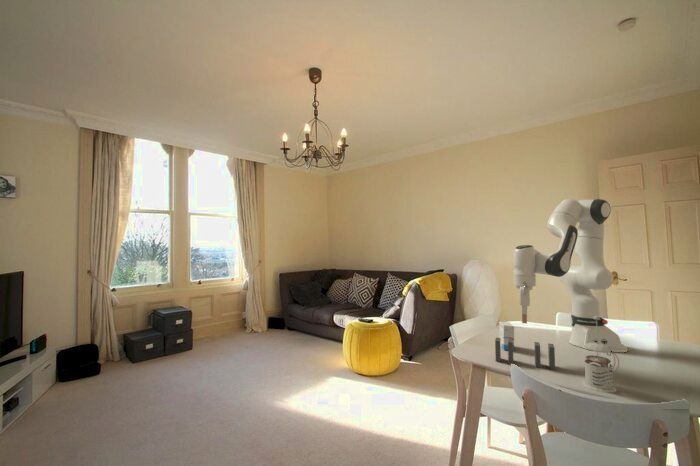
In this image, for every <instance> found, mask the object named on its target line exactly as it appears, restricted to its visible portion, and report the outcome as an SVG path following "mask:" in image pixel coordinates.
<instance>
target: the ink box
mask: <svg viewBox="0 0 700 466" xmlns="http://www.w3.org/2000/svg"><path fill="white" fill-rule="evenodd" d="M498 323H499V326H498V327H499V328H498V329H499V330H498V331H499V333H498V334H499V336H498V338H500V348H501V349H502V350H503V351H508V339H513V352H514V351H515V326H514V325H513V324H512V323H511V322H509V321H499V322H498Z"/></svg>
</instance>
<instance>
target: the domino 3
mask: <svg viewBox="0 0 700 466" xmlns="http://www.w3.org/2000/svg"><path fill="white" fill-rule="evenodd" d="M521 323H522V324H528V313H527V314H522V313H521Z"/></svg>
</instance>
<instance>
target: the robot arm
mask: <svg viewBox="0 0 700 466" xmlns="http://www.w3.org/2000/svg"><path fill="white" fill-rule="evenodd" d="M611 209H612V208H611V205H610V204H609V202H608V201H607V200H606V199H601V198H596V199H586V198H585V199H580V200H576V199H573V198H566V199H563V200H561V202H560V203H559V204H558V205H557V206H556V207H555V208H554V210H553V211H552V213H551V214H550V216H549V218H548V220H547V223H546V226H547V227H546V228H547V229H548V231H549V232H550V234H552V235H553V236H555V237H556V238H560V239H561V240H560V241H559V245H558V248H557V250H556V251H554V252H552V253H551V252H540V251H538V250H536V249H535V248H534V246H533V245H529V244H524V245H518V246H516V247H515V248H514V249H513V254H512V255H513V256H512V266H513V268H514V269H513V273H512V279H513V281H512V285H513V286H515V287H516V290H518V295H519V305H520V306H521V315H522V314H527V315H528V307H529V306H531V305H530V304H531V303H530V302H531V301H530V300H531V299H530V297H531V296H530V291H532V290H533V287H536V286H537V283H536V282H537V281H536V278H537V277H536V274H539V275H547V276H552V277H558V278H559V280H560V281H561V283H563V285H564V286H565V287H566V289H567V291H568V293H569V294H568V295H569V298H570V301H571V315H570V324H571V332H570V336H569V337H570V338H569V340H568V342H569V343H570V344H571V345H573V346H576V347H578V348H583V349H586V348H585V347H584V345H585V344H588V343H591V342H594V343H596V342H597V333H598V343H601V344H604V345H606V346H608V347H609V348H611V349H612V352H613V353H624V352H626V353H628V352H627V351H629V350H628V348H627V346H626V345H625V344H622V342H621V338H620V336H619V335H618V333H616V332H615V331H613V330H612V329H611V328H609V327H608V326H606V325H607V324H608V323H609V321H608V320H607V319H605V318H603V317H601V316H600V302H599V299H598V298H597V297H595V296H594V295H593V293H592V292H591V291H592V290H594V291H595V290H598V291H599V290H600V291H601V290H607V289H609V288H610V287H612V285H613V283H614V275H613V273H612V272H611V271H610V270H609V269H608V268H607V266H606V265H605V263H604V259H603V247H604V241H605V240H604V238H605V225H604V223H605V222H606V221H607V219H608V218H609V216H610V215H611V211H612V210H611ZM577 223H579V225H578V229H577V227H576V225H577ZM573 253H574V254H575V256H577V257H579V259H580V262H581V263H580V264H579V265H578V264H571V260H572V256H573ZM594 316H598V317H600V320H597V324H596V319H593V317H594ZM586 350H588V349H586ZM588 351H589V350H588Z"/></svg>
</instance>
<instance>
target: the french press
mask: <svg viewBox="0 0 700 466" xmlns="http://www.w3.org/2000/svg"><path fill="white" fill-rule="evenodd" d="M600 317H601V316H600ZM600 317H598V316H594V317H593V319H596V324H597V320H600ZM584 347H585V348H586V350H587V349H588V351H591V352H596V354H599V353H603V354H604V353H606V355H607V356H609V357H611V356H613V360H614V364H613V365H612V364H611V362H612V361H611V360H610V359H609V358H608V357H603V356H600V355H592V354H591V355H586V356H585V360H584V374H585V375H584V377H585V378H584V380H583V381H581V385H583V386H584V387H585V388H587V389H589V390H592V391H595V392H600V393H606V392H612V393H615V392H614V391H615V390H616V391H617V388H616V387H615V386H614V383H613V374H614V373H615V372H617V371H618V370H619V367H620V360H619V357H618V355H617V354H616V353H615V352H611V351H612V349H611V348H609V347H608V346H606V345H604V344H601V343H598V333H597V342H596V343H594V342H591V343H588V344H585V345H584ZM585 348H584V349H585ZM608 353H609V354H608ZM616 359H617V368H616V369H615V370H614V371H613V369H614V367H615V366H616Z"/></svg>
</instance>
